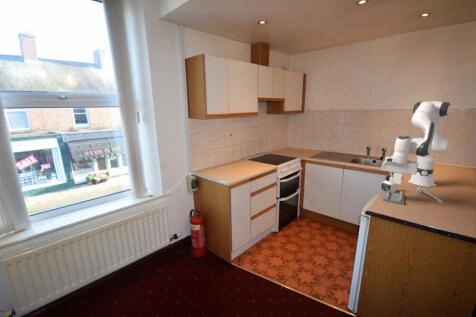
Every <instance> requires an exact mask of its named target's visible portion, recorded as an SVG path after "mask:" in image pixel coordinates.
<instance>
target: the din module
mask: <svg viewBox="0 0 476 317" xmlns="http://www.w3.org/2000/svg"><path fill="white" fill-rule="evenodd" d="M393 175H394V176H393V182H392V183H395V184H397V185H401V183H402V179H401V177H403V176H402V175H403V173H397V172H393Z"/></svg>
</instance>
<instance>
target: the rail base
mask: <svg viewBox="0 0 476 317" xmlns="http://www.w3.org/2000/svg"><path fill="white" fill-rule="evenodd" d="M387 192H388V191H384V194H383V198H382V201H383V202H388V203H391V202H392V204H396V205H400V206H401V205H402V206H404V205H405V194H403V193H402V199H401V202H399V198H400V192H399V193H398V192H389V196H388V200H387V199H386V197H387Z"/></svg>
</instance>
